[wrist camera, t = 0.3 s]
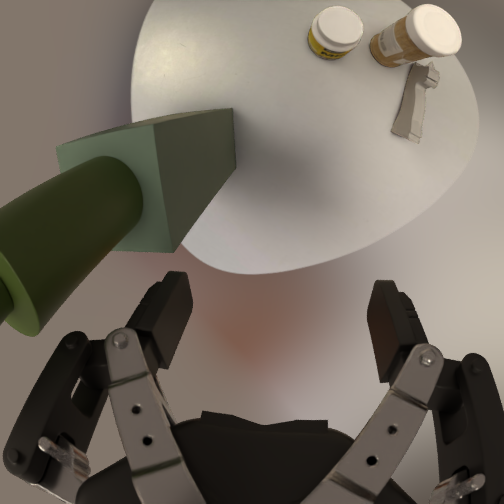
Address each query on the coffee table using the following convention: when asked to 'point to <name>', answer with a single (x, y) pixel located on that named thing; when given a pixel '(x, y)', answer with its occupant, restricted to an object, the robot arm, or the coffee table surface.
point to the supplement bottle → (335, 32)
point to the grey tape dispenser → (415, 102)
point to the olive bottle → (62, 237)
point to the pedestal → (165, 170)
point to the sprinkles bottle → (417, 37)
